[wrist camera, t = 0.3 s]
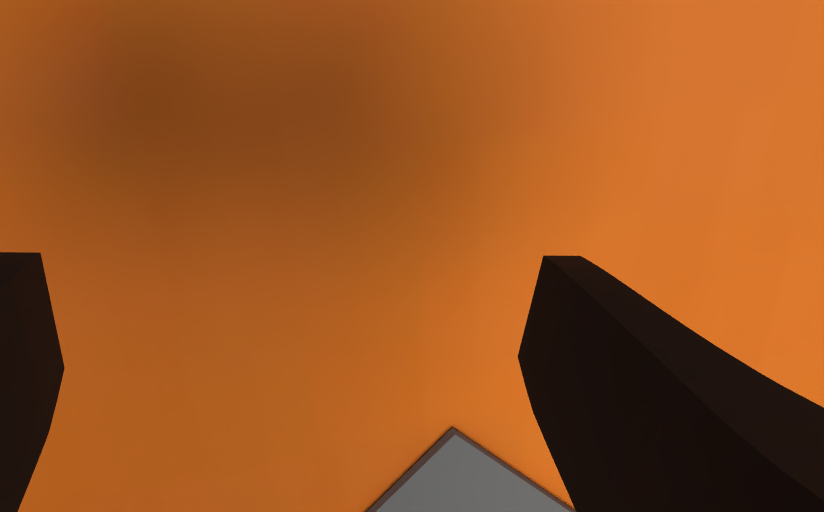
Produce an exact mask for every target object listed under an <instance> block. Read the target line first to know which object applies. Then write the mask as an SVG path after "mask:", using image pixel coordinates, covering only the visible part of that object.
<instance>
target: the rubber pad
mask: <svg viewBox="0 0 824 512" xmlns="http://www.w3.org/2000/svg"><path fill="white" fill-rule="evenodd" d="M367 512H576V511H575V510H574V509H572V508H571V507H569V506H568V505H566V504H565V503H563V502H562V501H560V500H559V499H557V498H556V497H554V496H553V495H552V494H550V493H549V492H547V491H546V490H544V489H543V488H541V487H540V486H538V485H537V484H535V483H534V482H532V481H531V480H529V479H528V478H526V477H525V476H523V475H522V474H521V473H519V472H518V471H516V470H515V469H513V468H512V467H510V466H509V465H507V464H506V463H504V462H503V461H501V460H500V459H498V458H497V457H495V456H494V455H492V454H491V453H490V452H488V451H487V450H485V449H484V448H482V447H481V446H479V445H478V444H476V443H475V442H473V441H472V440H470V439H469V438H467V437H466V436H464V435H463V434H461V433H460V432H459V431H457V430H456V429H454V428H453V427H452V428H451V429H450V430H449V431H448V432H447V433H446V434H445V435H444V436H443V437H442V438H441V439H440V440H439V441H438V442H437V443H436V444H435V445H434V446H433V447H432V448H431V449H430V450H429V451H428V452H427V453H426V454H425V455H424V456H423V457H422V458H421V459H420V460H419V461H418V462H417V463H416V464H415V465H413V466H412V467H411V468H410V469H409V470H408V471H407V472H406V473H405V474H404V475H403V476H402V477H401V478H400V479H399V480H398V481H397V482H396V483H395V484H394V485H393V486H392V487H391V488H390V489H389V490H388V491H387V492H386V493H385V494H384V495H383V496H382V497H381V498H380V499H379V500H378V501H377V502H376V503H375V504H374V505H373V506H372V507H371V508H370V509H369V510H368V511H367Z"/></svg>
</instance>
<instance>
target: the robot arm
mask: <svg viewBox="0 0 824 512" xmlns="http://www.w3.org/2000/svg"><path fill="white" fill-rule="evenodd" d="M518 359H519V363H520V367H521V371H522V375H523V378H524V382H525V386H526V390H527V393H528V396H529V400H530V403H531V406H532V410H533V413H534V415H535V418H536V420H537V423H538V425H539V427H540V430H541V432H542V434H543V437H544V439H545V441H546V444H547V446H548V448H549V451H550V453H551V455H552V458H553V460H554V462H555V464H556V467H557V469H558V471H559V473H560V476H561V478H562V480H563V482H564V485H565V487H566V489H567V491H568V494H569V496H570V498H571V501H572V503H573V505H574V507H575V510H576V512H824V408H823V407H821V406H819V405H817V404H816V403H814V402H812V401H810V400H808V399H806V398H804V397H802V396H800V395H799V394H797V393H795V392H793V391H791V390H789V389H787V388H785V387H784V386H782V385H780V384H778V383H776V382H775V381H773V380H771V379H769V378H768V377H766V376H764V375H762V374H761V373H759V372H757V371H756V370H754V369H752V368H751V367H749V366H748V365H746V364H744V363H743V362H741V361H739V360H738V359H736V358H735V357H733V356H731V355H730V354H728V353H726V352H725V351H723V350H722V349H720V348H718V347H717V346H715V345H714V344H712V343H711V342H709V341H707V340H706V339H704V338H703V337H701V336H700V335H698V334H697V333H695V332H694V331H692V330H691V329H689V328H688V327H686V326H685V325H683V324H682V323H680V322H679V321H677V320H676V319H674V318H673V317H671V316H670V315H669V314H667V313H666V312H664V311H663V310H661V309H660V308H658V307H657V306H655V305H654V304H653V303H651V302H650V301H648V300H647V299H645V298H644V297H642V296H641V295H640V294H638V293H637V292H635V291H634V290H632V289H631V288H629V287H628V286H627V285H625V284H624V283H622V282H621V281H619V280H618V279H616V278H615V277H613V276H612V275H610V274H609V273H607V272H606V271H604V270H603V269H601V268H600V267H598V266H597V265H595V264H593V263H592V262H590V261H588V260H586V259H585V258H583V257H581V256H543V260H542V264H541V267H540V271H539V275H538V279H537V283H536V287H535V291H534V295H533V299H532V303H531V307H530V310H529V314H528V318H527V322H526V326H525V330H524V334H523V338H522V342H521V346H520V350H519V354H518ZM63 372H64V364H63V359H62V354H61V349H60V344H59V340H58V335H57V330H56V325H55V320H54V316H53V311H52V306H51V301H50V297H49V292H48V287H47V282H46V277H45V273H44V268H43V263H42V258H41V254H40V253H14V252H0V512H18V509H19V507H20V504H21V502H22V499H23V497H24V494H25V492H26V489H27V487H28V484H29V482H30V479H31V477H32V474H33V472H34V469H35V467H36V464H37V462H38V459H39V456H40V454H41V451H42V449H43V446H44V444H45V441H46V438H47V436H48V433H49V430H50V426H51V422H52V418H53V414H54V410H55V406H56V402H57V398H58V394H59V389H60V385H61V381H62V376H63Z"/></svg>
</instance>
